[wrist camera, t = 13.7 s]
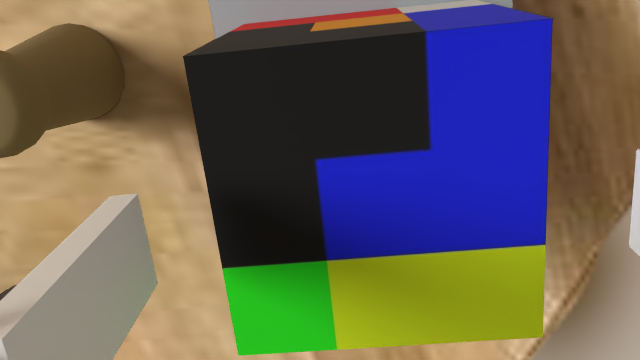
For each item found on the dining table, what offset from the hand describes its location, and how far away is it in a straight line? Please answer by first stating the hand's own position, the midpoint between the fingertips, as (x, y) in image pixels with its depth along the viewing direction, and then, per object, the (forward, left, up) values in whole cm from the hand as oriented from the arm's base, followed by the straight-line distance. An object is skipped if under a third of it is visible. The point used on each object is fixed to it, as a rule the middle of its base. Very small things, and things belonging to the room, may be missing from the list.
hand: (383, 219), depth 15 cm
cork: (+2, +18, -22) cm, 28 cm away
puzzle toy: (0, 0, -12) cm, 12 cm away
